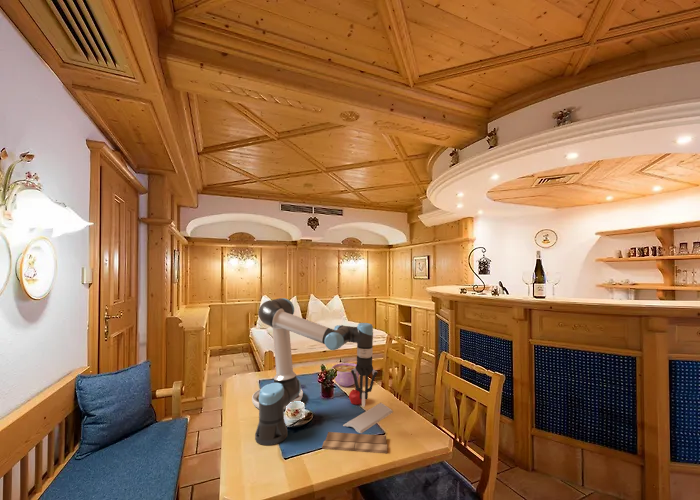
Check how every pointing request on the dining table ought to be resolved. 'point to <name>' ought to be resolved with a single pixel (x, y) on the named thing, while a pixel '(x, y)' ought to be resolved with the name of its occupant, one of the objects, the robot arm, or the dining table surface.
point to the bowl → (256, 398)
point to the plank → (356, 438)
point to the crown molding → (369, 418)
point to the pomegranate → (355, 397)
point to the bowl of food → (345, 374)
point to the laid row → (355, 446)
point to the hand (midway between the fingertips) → (363, 405)
